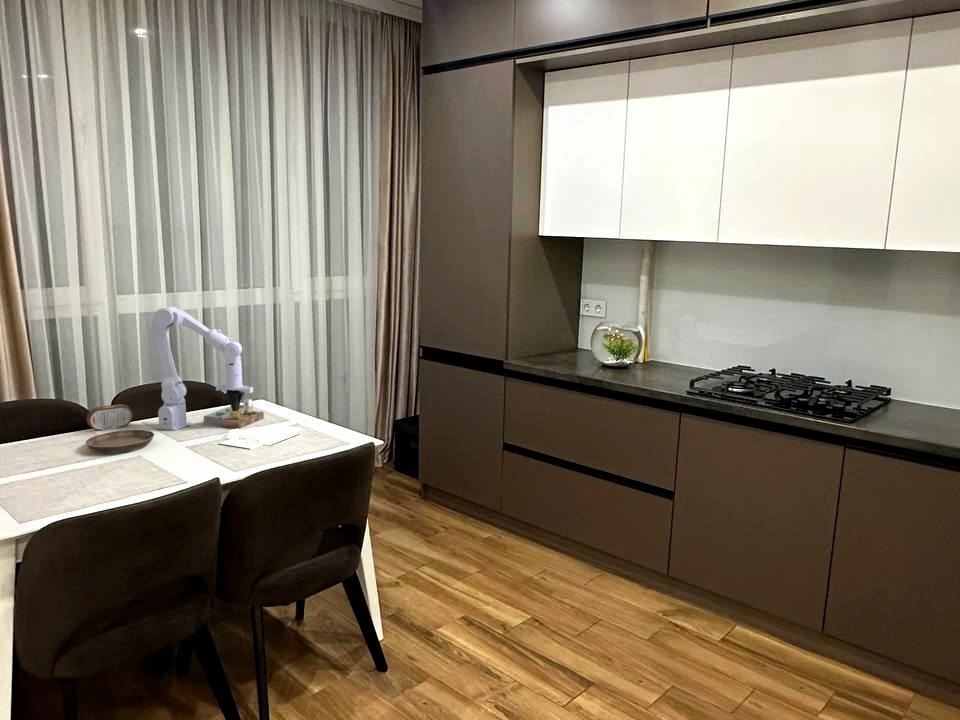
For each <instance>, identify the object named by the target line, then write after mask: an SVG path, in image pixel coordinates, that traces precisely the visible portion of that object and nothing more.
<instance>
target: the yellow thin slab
mask: <svg viewBox="0 0 960 720" xmlns="http://www.w3.org/2000/svg"><path fill="white" fill-rule="evenodd" d="M228 413H231V417H232V419H237V420H239V419H240V414H243V413H244V411H241V410H237V411H232V410H230V409H229V410H228Z"/></svg>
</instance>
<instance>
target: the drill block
mask: <svg viewBox="0 0 960 720" xmlns="http://www.w3.org/2000/svg"><path fill="white" fill-rule="evenodd" d="M263 419H265V413H264V411H257V410H256V411H254V410H253V415H251V416H249V415H244V413H243V414H240V419H239V420H237V419H232V417H231V416H230V417H227V418H225V419H222V420H220V425H219V427H220V428H224V429H225V428H227V429H234V430H235V429H243V428H245V427H247V426H250V425H252V424H254V423H257V422H259V421H262V420H263Z"/></svg>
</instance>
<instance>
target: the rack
mask: <svg viewBox="0 0 960 720" xmlns="http://www.w3.org/2000/svg"><path fill="white" fill-rule="evenodd" d="M229 409H230V410H232V408H231V405H230V406H227V407H225V408H222V409H219V410H216V411H214V412H210V413H208V414H206V415H203V425H211V426H220V420H222V419H225V418H227V417H230V416H231V413H228V410H229ZM239 410H241V411H244V404H240V405H239Z"/></svg>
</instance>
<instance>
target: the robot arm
mask: <svg viewBox="0 0 960 720" xmlns="http://www.w3.org/2000/svg"><path fill="white" fill-rule="evenodd" d="M173 326H185V327H187V328H188V329H190V330H192V331H194V332H195V333H197V334H199V335H200V336H202V337H204V341H205V342H206V343H207V344H208V345H209V346H211V347H213V348H214V349H216V350H217V351H219V352H222V355H223V357H224V368H225V369H224V371H225V384H220V383H219V384H216V385H215V391H226V392H225V393H224V395H225V397H226V398H227V400H228V402H229V405H230V406H231V408H232V411H237V410H239V405H241V401H242V399H243V396H244V395H245V393H247V394H252V393H254V387H253V386H249V385H248V386H247V385H243V373H242V372H243V371H242V370H243V369H242V356H241V354H242V352H243V345H242V344H241V343H240V342H239V341H238V340H233V338H232V337H228V336H226V335H225V334H223V333H222V330H221V329H216V328H213V329H210V328H208V327H207V326H206V325H205V324H203V323H202V322H200V321H199V320H197V319H196V318H194V317H193V316H191V314H188V313H187V312H186V311H185V310H183V309H182V308H181V309H180V308H179V307H178V306H176V305H174V304H173V305H172V304H171V305H168V306H165V307H162V308H159V309H158V310H157V311H156V312H155V313H154V314H153V316H152V322H151V325H150V329H149V334H150V338H151V339H150V340H151V342H152V345H153V349H154V352H155V357H156V359H157V360H156V361H157V363H158V364H157V365H158V368H159V371H160V374H161V378H162V379H161V380H162V381H161V385H160V386H161V400H162V401H163V405H162V406H160V407H159V409H158V411H157V416H158V418H157V419H158V426H157V428H156V429H161V430H171V431H178V430H179V429H182V428H185V427H188V426H190V425H192V424H193V422H189V421H187V410H186V409H187V408H186V399H185V396H186V395H187V387H186V385H185V384H184V383H183V381H182V378H181V377H180V375H178V371H177V368H176V365H175V361H174V357H173V354H172V349H171V347H170V342H169V339H168V338H169V337H168V335H167V333H168V332H169V331H170V329H171V328H172V327H173Z"/></svg>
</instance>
